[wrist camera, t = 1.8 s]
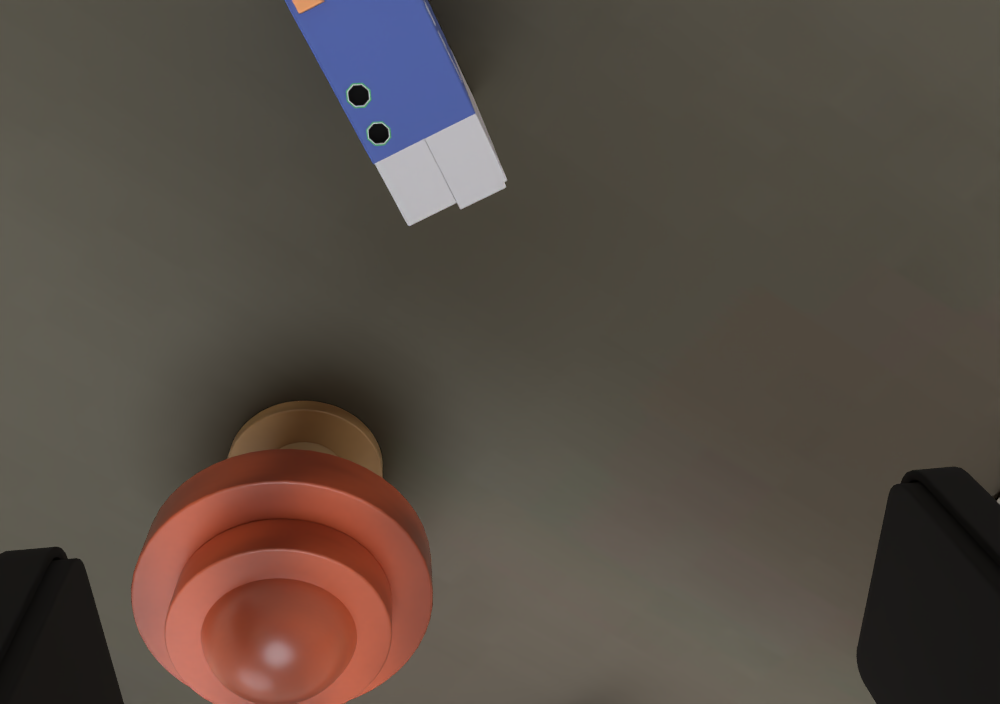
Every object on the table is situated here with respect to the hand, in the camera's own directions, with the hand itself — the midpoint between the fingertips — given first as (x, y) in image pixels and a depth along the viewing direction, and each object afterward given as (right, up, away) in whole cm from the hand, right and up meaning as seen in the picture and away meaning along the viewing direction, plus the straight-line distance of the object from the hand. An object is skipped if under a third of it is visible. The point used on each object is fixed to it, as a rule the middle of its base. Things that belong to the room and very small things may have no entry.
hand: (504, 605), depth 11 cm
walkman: (-4, +15, +21) cm, 26 cm away
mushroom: (-8, -2, +28) cm, 29 cm away
